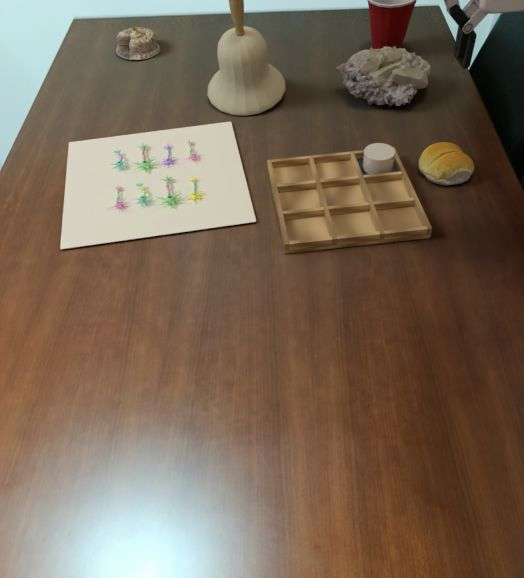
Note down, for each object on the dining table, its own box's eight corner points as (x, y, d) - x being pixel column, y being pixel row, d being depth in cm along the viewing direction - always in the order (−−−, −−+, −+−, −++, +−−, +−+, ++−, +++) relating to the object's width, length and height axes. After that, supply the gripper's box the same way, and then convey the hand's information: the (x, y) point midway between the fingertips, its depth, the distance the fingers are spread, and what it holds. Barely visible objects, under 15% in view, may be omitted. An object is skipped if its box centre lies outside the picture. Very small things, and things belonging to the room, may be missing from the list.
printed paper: (256, 223, 90) (256, 215, 89) (60, 251, 88) (57, 243, 87) (231, 123, 109) (230, 115, 108) (69, 143, 107) (67, 136, 105)
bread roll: (452, 151, 100) (457, 130, 97) (479, 180, 94) (485, 159, 91) (407, 161, 98) (411, 140, 95) (432, 191, 93) (437, 169, 90)
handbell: (291, 72, 117) (286, -64, 95) (280, 124, 110) (271, -10, 88) (217, 69, 119) (195, -65, 98) (201, 120, 112) (174, -11, 91)
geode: (427, 125, 115) (384, 81, 121) (455, 80, 108) (409, 36, 114) (366, 121, 105) (324, 74, 112) (393, 72, 99) (346, 25, 105)
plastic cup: (350, 57, 123) (355, -6, 114) (374, 37, 129) (380, -24, 119) (397, 68, 119) (405, 5, 110) (420, 48, 125) (430, -15, 115)
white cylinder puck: (388, 157, 98) (391, 141, 96) (396, 174, 95) (398, 158, 93) (359, 160, 98) (361, 144, 96) (366, 177, 95) (367, 161, 92)
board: (393, 156, 100) (394, 146, 98) (430, 238, 86) (432, 228, 85) (267, 169, 99) (267, 159, 97) (284, 253, 85) (284, 244, 84)
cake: (144, 39, 134) (141, 14, 130) (170, 53, 130) (167, 27, 126) (107, 50, 130) (102, 24, 126) (132, 65, 125) (128, 38, 121)
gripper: (617, -139, 59) (559, 39, 72) (449, -123, 58) (421, 52, 71) (657, -120, 54) (587, 66, 67) (474, -102, 53) (439, 82, 67)
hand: (501, 59), depth 69 cm, fingers open, 9 cm apart
